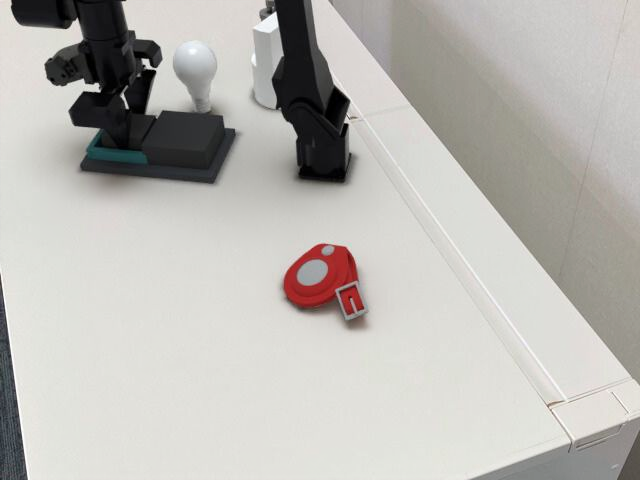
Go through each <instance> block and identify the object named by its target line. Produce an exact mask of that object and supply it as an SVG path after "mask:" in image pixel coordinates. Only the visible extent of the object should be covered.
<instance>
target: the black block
mask: <svg viewBox="0 0 640 480" xmlns="http://www.w3.org/2000/svg"><path fill="white" fill-rule="evenodd" d="M156 118H157V116H156V115H155V114H154V115H153V114H146V115H145V114H134V113H132V118H131V127H130V137H129V145H128V150H130V151H141V152H143V151H142V147H141V145H142V143H143V141H144V140H145V138H146V136H147V135H148V133H149V131H150V130H151V128H152V126H153V125H154V123H155V121H156ZM100 137H101V141H102V144H103V148H109V149H119V148H118V147H117V146H116V144H115V143H114V141H113V140H112V139H111V137H110V136H109V135H108V133H107V132H106V131H105V129H104V130H103V131H102V133H101V134H100Z"/></svg>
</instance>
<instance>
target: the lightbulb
mask: <svg viewBox="0 0 640 480" xmlns="http://www.w3.org/2000/svg"><path fill="white" fill-rule="evenodd" d="M171 61H172V63H171V64H172V69H173V72H174V74H175V76H176V78H177V79H178V80H179V81H180V82H181V83H182V84H183V85H184V86H185V87H186V90H187V93H188V94H189V96H190V98H191V101H192V102H191V103H192V108H193V112H194V113H202V114H208V112H210V111H211V110H212V103H211V99H210V98H211V97H210V93H211V89H212V88H211V85H212V83H213V80H214V79H215V77H216V74H217V71H218V60H217V57H216V54H215V52H214V51H213V49H212V48H211V47H210V46H209V45H208V44H206V43H205V42H203V41H201V40H197V39H190V40H186V41H183V42H182V43H180V44H179V45H178V46H177V47H176V49H175V50H174V53H173V55H172V60H171Z"/></svg>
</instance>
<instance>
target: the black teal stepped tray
mask: <svg viewBox="0 0 640 480" xmlns="http://www.w3.org/2000/svg"><path fill="white" fill-rule="evenodd" d="M103 130H104V129H98V131H97V132H96V134H95V135H94V136H93V138H92V140H91V141H90V143H89V144H88V146H87V147H86V149H85V151H86V155H85V156H84V157H83V159H82V161H81V162H80V163H79V167H80V170H81V171H86V172H95V173H106V174H115V175H116V174H117V175H127V176H135V177H136V176H137V177H146V178H147V177H148V178H157V179H167V180H175V181H176V180H178V181H185V182H186V181H187V182H196V183H197V182H198V183H206V184H207V183H208V184H214V182H215V181H216V180H215V179H217V175H218V173H219V172H220V169H221V167H222V165H223V163H224V161H225V159H226V156H227V154H228V152H229V150H230V148H231V145H232V144H233V141H234V139H235V137H236V135H237V134H236V133H237V131H236V129H235V128H233V127H226V126H225V120H224V115H223V114H213V113H212V114H211V113H204V114H202V113H197V112H189V111H177V110H169V109H168V110H166V109H162V110H161V111H160V113H159V114H158V116H157V117H156V121H155V123H154V125H153V126H152V128H151V130H150V131H149V133H148V135H147V136H146V138H145V140H144V141H143V143H142V145H141V147H142V151H143V152H141V151H130V150H119V149H109V148H103V144H102V141H101V137H100V134H101V133H102V131H103Z"/></svg>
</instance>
